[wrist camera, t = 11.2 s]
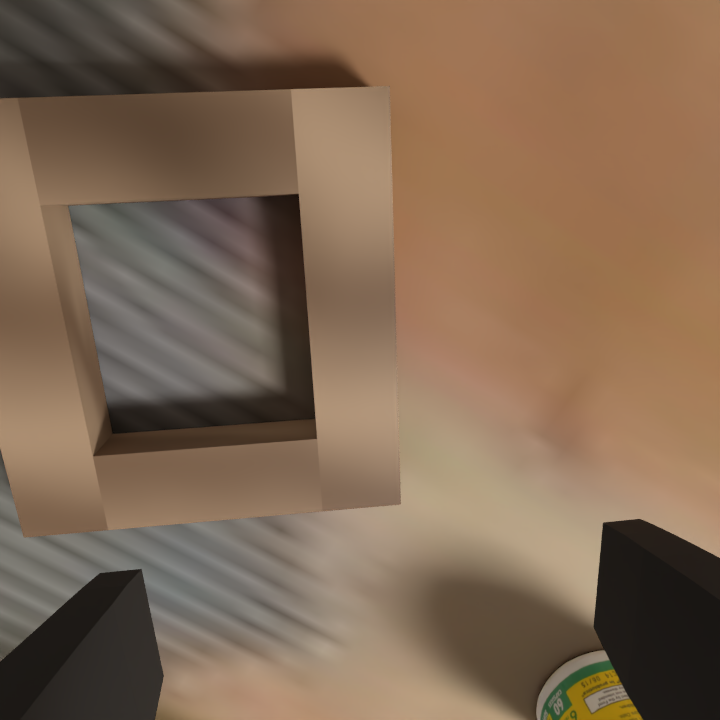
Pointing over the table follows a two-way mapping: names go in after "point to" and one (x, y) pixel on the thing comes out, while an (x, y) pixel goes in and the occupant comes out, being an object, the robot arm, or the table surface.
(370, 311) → the wooden square frame
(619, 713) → the supplement bottle
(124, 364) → the table surface
